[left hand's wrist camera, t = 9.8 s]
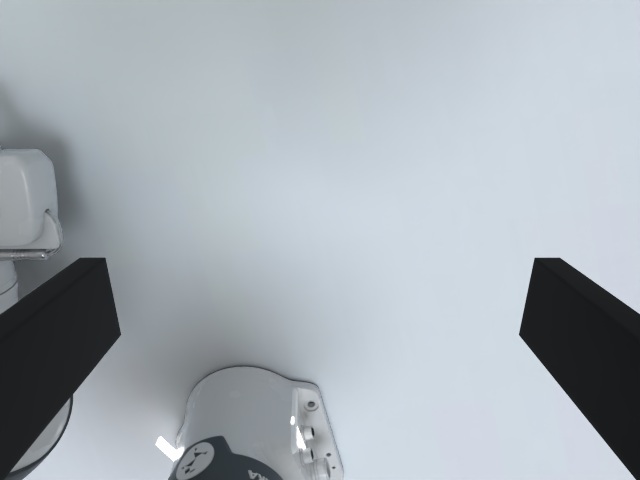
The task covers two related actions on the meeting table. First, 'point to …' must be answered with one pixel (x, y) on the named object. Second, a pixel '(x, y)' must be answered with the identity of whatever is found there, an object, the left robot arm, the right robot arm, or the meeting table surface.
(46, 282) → the left robot arm
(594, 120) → the meeting table surface
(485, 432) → the meeting table surface
